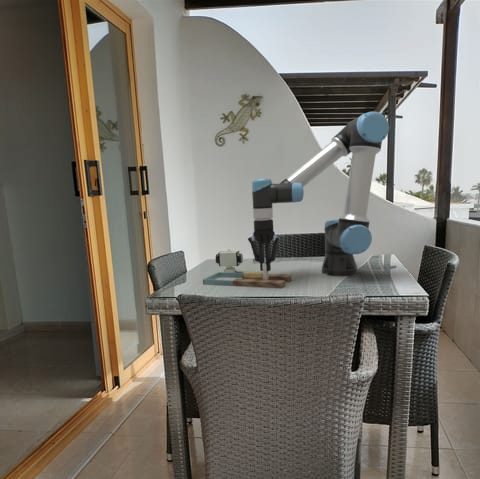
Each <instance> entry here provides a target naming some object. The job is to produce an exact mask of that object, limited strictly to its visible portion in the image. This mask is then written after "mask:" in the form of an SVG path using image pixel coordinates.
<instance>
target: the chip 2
mask: <svg viewBox="0 0 480 479" xmlns="http://www.w3.org/2000/svg"><path fill="white" fill-rule="evenodd" d="M253 279H261V280H263V271H257V270H256V272H254V273H253Z"/></svg>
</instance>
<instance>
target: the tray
mask: <svg viewBox="0 0 480 479" xmlns="http://www.w3.org/2000/svg"><path fill="white" fill-rule="evenodd" d="M243 273H244V272H236V273H228V272H224V271H223V272H220V271H218V272H215V273H214V274H211V275H210V276H207V277H205V278H203V279H202V284H203V286H204V285H205V286H224V287H225V286H226V287H227V286H229V287H234V286H233V284H232V281H233V280H234V279H236V278H237V279H242V275H243ZM219 278H229V279H230V278H233V280H232V279H231V280H229V279H228V280H227V279H219Z"/></svg>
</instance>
